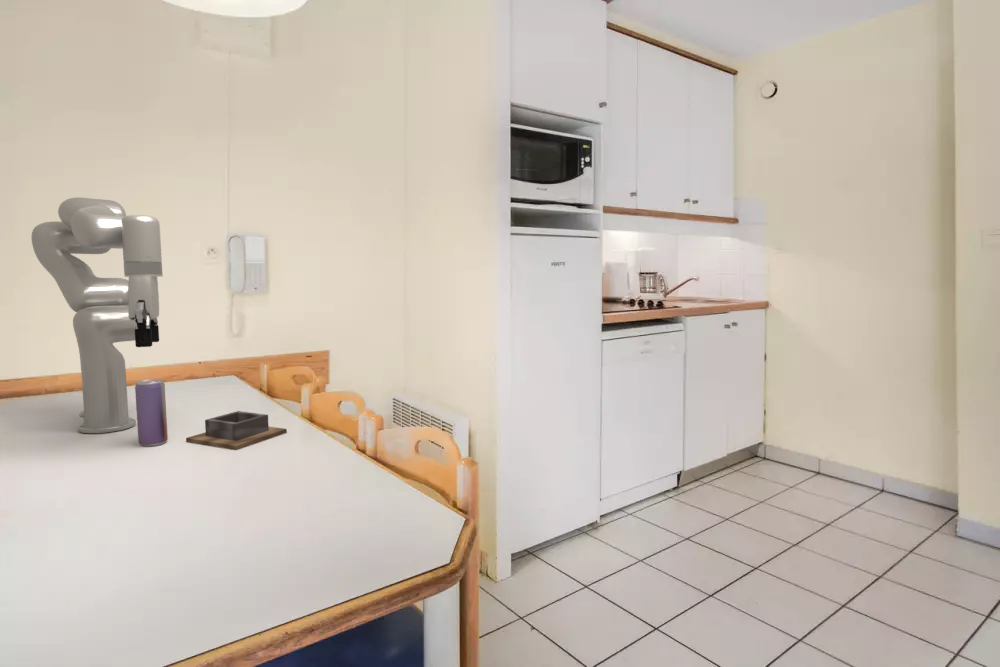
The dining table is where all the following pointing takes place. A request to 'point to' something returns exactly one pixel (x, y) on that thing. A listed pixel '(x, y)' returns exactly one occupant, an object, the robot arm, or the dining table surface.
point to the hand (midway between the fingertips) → (147, 344)
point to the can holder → (236, 430)
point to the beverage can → (151, 412)
